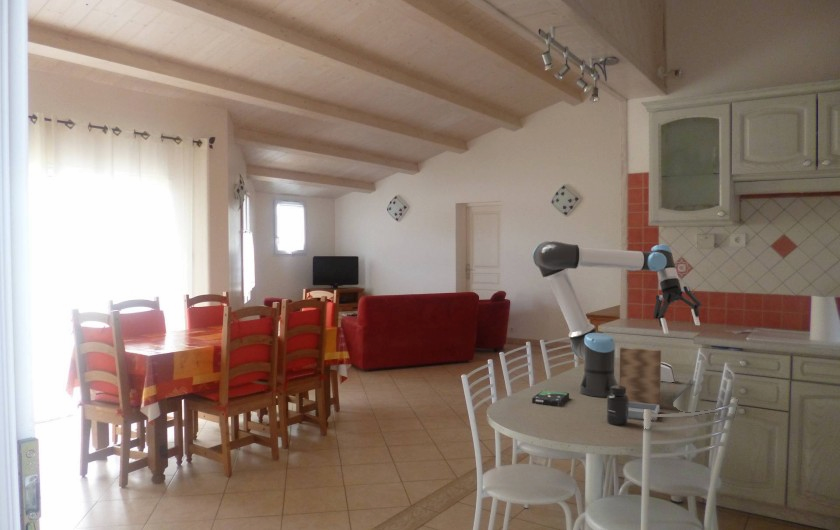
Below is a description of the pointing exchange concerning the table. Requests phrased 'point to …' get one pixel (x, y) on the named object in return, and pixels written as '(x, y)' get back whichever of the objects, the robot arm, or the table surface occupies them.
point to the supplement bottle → (617, 406)
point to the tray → (641, 410)
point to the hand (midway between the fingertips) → (681, 329)
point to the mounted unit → (641, 374)
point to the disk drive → (550, 398)
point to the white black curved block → (667, 372)
